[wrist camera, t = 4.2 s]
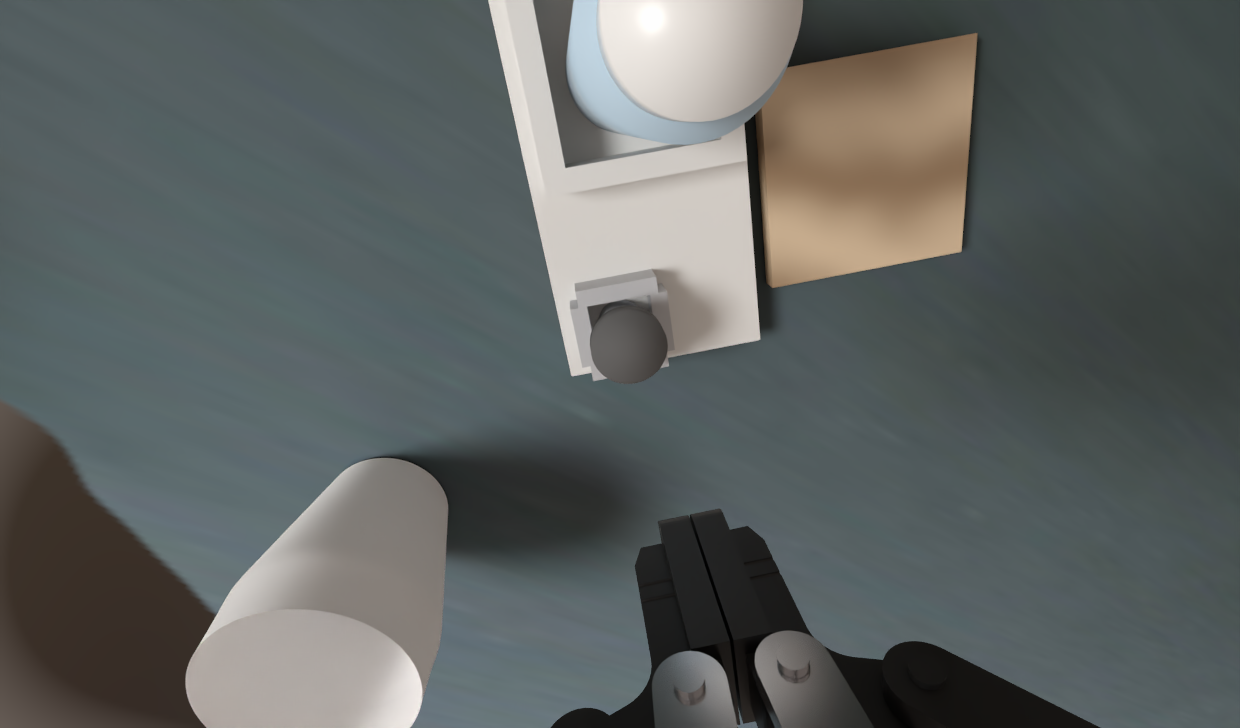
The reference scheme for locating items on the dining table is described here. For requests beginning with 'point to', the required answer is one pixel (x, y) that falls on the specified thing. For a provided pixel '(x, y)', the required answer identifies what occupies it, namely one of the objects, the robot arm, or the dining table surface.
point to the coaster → (866, 160)
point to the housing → (627, 205)
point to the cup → (334, 612)
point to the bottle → (678, 64)
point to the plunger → (627, 343)
